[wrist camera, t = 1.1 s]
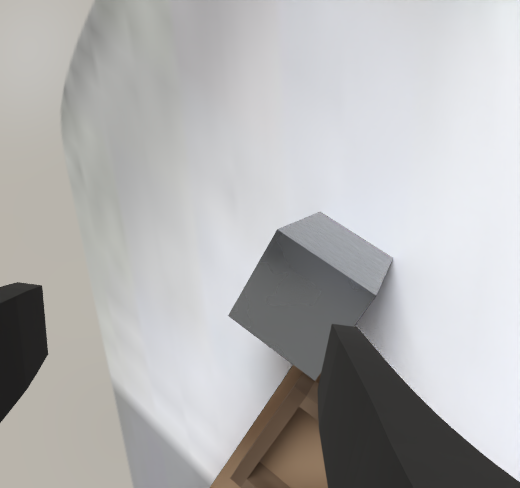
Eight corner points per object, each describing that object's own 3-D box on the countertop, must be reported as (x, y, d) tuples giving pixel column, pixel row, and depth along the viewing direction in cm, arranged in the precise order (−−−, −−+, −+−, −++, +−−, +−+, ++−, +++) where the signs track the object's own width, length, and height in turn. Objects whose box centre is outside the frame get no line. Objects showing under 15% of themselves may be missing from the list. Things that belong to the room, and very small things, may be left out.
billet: (393, 257, 19) (376, 295, 14) (346, 323, 20) (314, 381, 15) (320, 211, 20) (277, 229, 15) (280, 277, 21) (228, 315, 16)
